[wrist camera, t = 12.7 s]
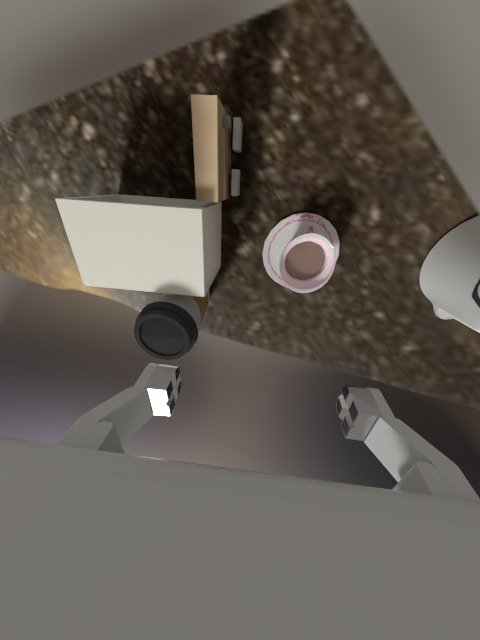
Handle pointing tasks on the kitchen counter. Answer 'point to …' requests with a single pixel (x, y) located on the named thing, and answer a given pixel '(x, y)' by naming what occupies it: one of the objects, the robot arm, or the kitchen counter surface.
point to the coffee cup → (170, 324)
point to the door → (211, 148)
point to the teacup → (301, 252)
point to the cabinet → (148, 239)
